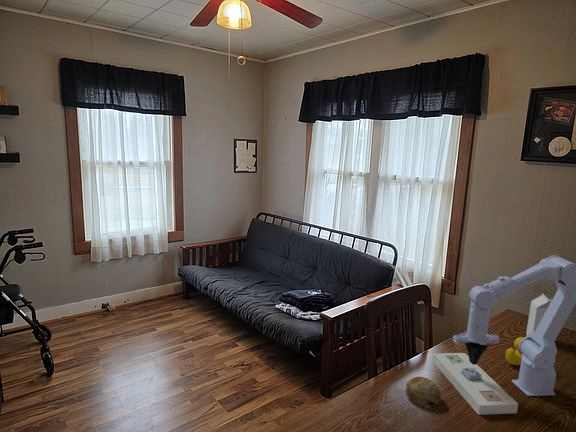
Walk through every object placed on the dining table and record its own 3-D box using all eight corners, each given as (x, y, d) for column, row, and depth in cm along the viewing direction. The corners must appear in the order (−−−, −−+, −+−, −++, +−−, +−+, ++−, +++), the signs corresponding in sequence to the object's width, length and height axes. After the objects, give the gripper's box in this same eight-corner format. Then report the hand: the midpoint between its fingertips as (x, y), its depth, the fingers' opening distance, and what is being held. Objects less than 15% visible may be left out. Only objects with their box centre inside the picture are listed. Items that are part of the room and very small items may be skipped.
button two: (456, 362, 135) (457, 355, 134) (462, 368, 131) (463, 362, 130) (445, 362, 134) (446, 356, 134) (451, 369, 130) (452, 362, 130)
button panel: (463, 360, 137) (464, 352, 137) (516, 413, 110) (518, 404, 109) (432, 361, 136) (433, 353, 135) (478, 414, 108) (479, 405, 108)
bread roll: (412, 417, 112) (421, 403, 107) (396, 385, 120) (405, 370, 115) (440, 412, 115) (450, 398, 110) (423, 381, 123) (432, 366, 118)
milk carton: (531, 342, 153) (538, 298, 149) (525, 334, 159) (532, 291, 156) (551, 345, 151) (558, 300, 147) (545, 337, 157) (552, 294, 154)
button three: (473, 374, 125) (474, 367, 124) (480, 381, 121) (481, 374, 120) (461, 374, 124) (462, 367, 124) (468, 382, 120) (469, 374, 120)
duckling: (523, 357, 140) (527, 333, 139) (536, 365, 135) (540, 340, 134) (499, 361, 137) (503, 336, 135) (512, 370, 132) (516, 343, 130)
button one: (491, 398, 115) (492, 391, 115) (499, 407, 111) (501, 399, 111) (479, 399, 115) (480, 391, 114) (487, 408, 111) (488, 400, 110)
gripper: (463, 330, 114) (458, 370, 117) (507, 329, 116) (501, 369, 118) (451, 319, 121) (446, 358, 124) (493, 319, 123) (488, 357, 125)
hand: (472, 362), depth 121 cm, fingers closed
